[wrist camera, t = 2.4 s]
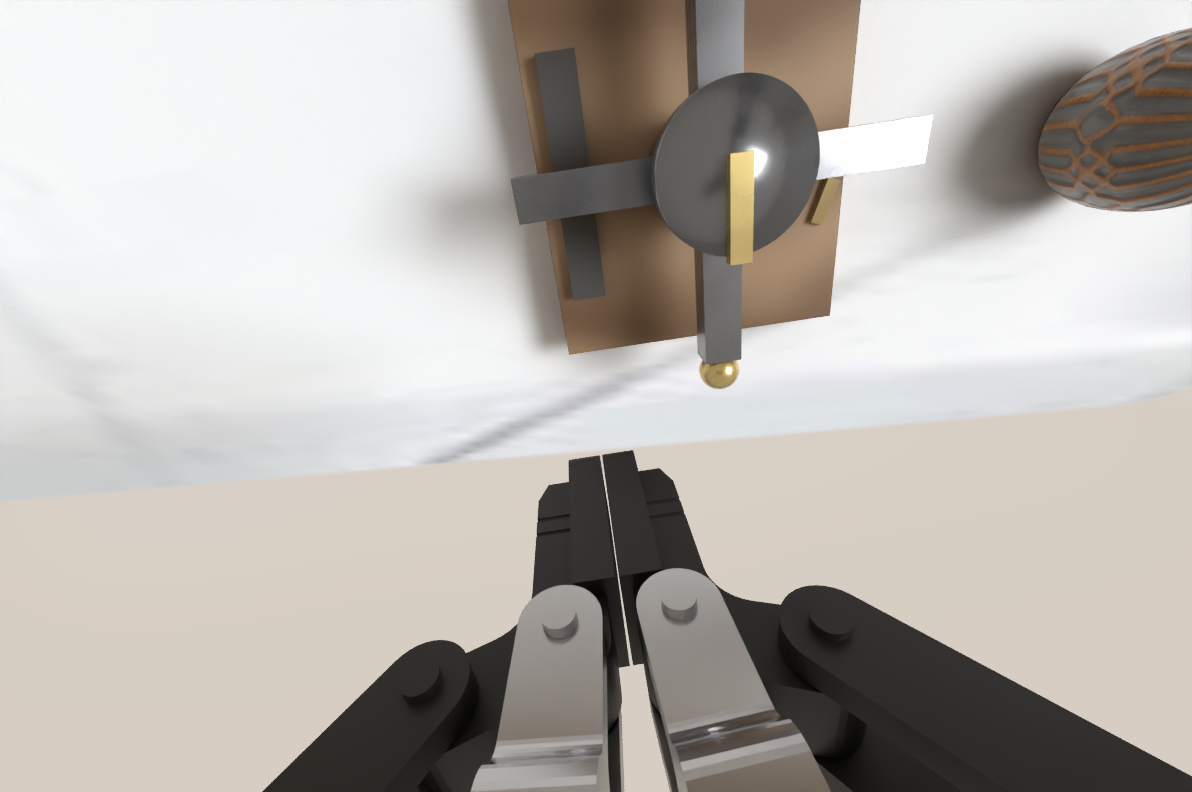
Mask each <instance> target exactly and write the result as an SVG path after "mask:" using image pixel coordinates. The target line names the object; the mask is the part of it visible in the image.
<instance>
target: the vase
mask: <svg viewBox="0 0 1192 792" xmlns="http://www.w3.org/2000/svg"><path fill="white" fill-rule="evenodd" d="M1038 162H1039V167H1040V170H1041V172H1042V174H1043V176H1044V178H1045V180H1046V182H1047V183H1048V185H1049V186H1050V187H1051V188H1052V189H1054V190H1055V191H1056V192H1057V193H1059V194H1060V195H1062V196H1063V197H1065V198H1067V199H1069V200H1071V201H1073V202H1076V203H1078V204H1081V205H1084V206H1087V207H1091V208H1097V209H1102V210H1111V211H1122V212H1142V211H1154V210H1162V209H1169V208H1174V207H1180V206H1184V205H1189V204H1192V28H1188V29H1184V30H1180V31H1176V32H1172V33H1169V34H1166V35H1162V36H1159V37H1156V38H1153V39H1150V40H1148V41H1145V42H1143V43H1141V44H1138V45H1136V46H1134V47H1131V48H1129V49H1127V50H1125V51H1123V52H1121V53H1119V54H1117V55H1115V56H1114V57H1112V58H1110V59H1108V60H1107V61H1105V62H1103V63H1102V64H1100V65H1099V66H1097V67H1096V68H1094V69H1093V70H1091V71H1090V72H1089V73H1087V74H1086V75H1085V76H1084V77H1082V78H1081V79H1080V80H1079V81H1078V82H1077V83H1076V84H1075V85H1074V86H1073V87H1072V88H1071V89H1070V90H1069V91H1068V92H1067V93H1066V94H1065V95H1064V96H1063V97H1062V98H1061V100H1060V101H1059V102H1058V103H1057V105H1056V106H1055V108H1054V109H1053V111H1052V112H1051V114H1050V116H1049V117H1048V119H1047V121H1046V123H1045V125H1044V127H1043V130H1042V133H1041V136H1040V140H1039V145H1038Z"/></svg>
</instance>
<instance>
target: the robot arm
mask: <svg viewBox="0 0 1192 792" xmlns="http://www.w3.org/2000/svg"><path fill="white" fill-rule="evenodd" d="M602 457H603V464H604V470H605V478H606V486H607V493H608V499H609V507H610V514H611V522H612V529H613V536H614V543H615V550H616V557H617V565H618V572H619V578H620V584H621V591H622V598H623V604H624V610H625V616H626V623H627V629H628V635H629V642H630V648H631V654H632V661H633V665H637V664H644V669H645V675H646V680H647V687H648V693H649V700H650V707H651V713H652V717H653V721H654V725H655V729H656V733H657V738H658V742H659V746H660V751H661V755H662V759H663V763H664V767H665V772H666V776H667V780H668V784H669V789H670V792H1192V776H1190V775H1188V774H1186V773H1184V772H1182V771H1181V770H1179V769H1177V768H1175V767H1173V766H1171V765H1169V764H1167V763H1165V762H1164V761H1162V760H1160V759H1158V758H1156V757H1154V756H1152V755H1151V754H1149V753H1147V752H1145V751H1143V750H1141V749H1139V748H1137V747H1136V746H1134V745H1132V744H1130V743H1128V742H1126V741H1124V740H1122V739H1121V738H1119V737H1117V736H1115V735H1113V734H1111V733H1109V732H1107V731H1105V730H1104V729H1101V728H1100V727H1098V726H1096V725H1094V724H1092V723H1091V722H1089V721H1087V720H1085V719H1083V718H1081V717H1079V716H1077V715H1076V714H1074V713H1072V712H1070V711H1068V710H1066V709H1064V708H1062V707H1060V706H1059V705H1057V704H1055V703H1053V702H1051V701H1049V700H1047V699H1045V698H1044V697H1042V696H1040V695H1038V694H1036V693H1034V692H1032V691H1031V690H1029V689H1027V688H1025V687H1023V686H1021V685H1019V684H1017V683H1016V682H1014V681H1012V680H1010V679H1008V678H1006V677H1004V676H1002V675H1001V674H999V673H997V672H995V671H993V670H991V669H989V668H987V667H985V666H984V665H982V664H980V663H978V662H976V661H974V660H972V659H971V658H969V657H967V656H965V655H963V654H961V653H959V652H957V651H955V650H954V649H952V648H950V647H948V646H946V645H944V644H942V643H940V642H939V641H937V640H935V639H933V638H931V637H929V636H927V635H925V634H924V633H922V632H920V631H918V630H916V629H914V628H912V627H910V626H908V625H907V624H905V623H903V622H901V621H899V620H897V619H895V618H893V617H892V616H890V615H888V614H886V613H884V612H882V611H880V610H878V609H877V608H874V607H873V606H871V605H869V604H867V603H865V602H864V601H862V600H860V599H858V598H856V597H854V596H852V595H850V594H848V593H846V592H844V591H842V590H839V589H836V588H831V587H827V586H818V585H817V586H816V585H815V586H806V587H801V588H799V589H796V590H794V591H793V592H791V593H789V594H788V595H787V597H785V599H784V601H783V602H782V604H781V605H778V604H771V603H763V602H756V601H750V600H745V599H741V598H738V597H735V596H733V595H731V594H729V593H727V592H725V591H724V590H722V589H721V588H719V587H718V586H717V585H716V584H715V583H714V582H713V581H712V580H711V579H710V578H709V576H708V575H707V573H706V571H705V569H704V567H703V564H702V562H701V559H700V556H699V553H698V550H697V547H696V545H695V541H694V539H693V536H692V533H691V530H690V527H689V525H688V522H687V519H686V516H685V515H684V511H683V507H682V505H681V502H680V500H679V496H678V493H677V490H676V488H675V485H674V482H673V480H672V479H670V478H669V477H668V476H667V475H666V474H665V473H664V472H663V471H662V470H660V469H659V468H658V469H652V470H645V471H638V468H637V465H636V461H635V456H634V453H633V450H631V451H624V452H618V453H611V454H604V455H602ZM626 666H630V665H629V658H628V650H627V643H626V635H625V628H624V620H623V613H622V606H621V599H620V591H619V584H618V576H617V569H616V561H615V554H614V546H613V540H612V532H611V525H610V518H609V511H608V505H607V499H606V492H605V487H604V480H603V474H602V467H601V461H600V456H593V457H585V458H579V459H573V460H569V482H566V483H561V484H553V485H549V486H548V488H547V489H546V491H545V492H544V494H543V496H542V497H541V499H540V500H539V508H538V523H537V538H536V551H535V565H534V580H533V593H532V599H531V600H530V601H529V603H528V604H527V605H526V606H525V608H524V609H523V611H522V613H521V615H520V617H519V621H518V624H517V625H516V626H515V627H514V628H512V629H511V630H510V631H509V632H508V633H506V634H504V635H503V636H501V637H499V638H498V639H496V640H494V641H492V642H489V643H487V644H485V645H483V646H481V647H479V648H477V649H474V650H473V651H470V652H468V653H465V651H464V650H463V649H462V648H461V647H460V646H459V645H457V644H456V643H454V642H450V641H445V640H437V641H431V642H426V643H424V644H421V645H418V646H416V647H414V648H413V649H411V650H409V651H408V652H406V653H405V654H403V655H402V656H401V657H400V658H399V659H398V660H396V661H395V662H394V663H393V664H392V665H391V666H390V667H389V668H388V669H387V670H386V671H385V672H384V673H383V674H382V675H381V676H380V677H379V678H378V679H377V680H376V681H375V682H374V683H373V684H372V685H371V686H370V687H369V688H368V689H367V690H366V691H365V692H364V693H363V694H362V695H361V696H360V697H359V698H358V699H357V700H356V701H354V702H353V704H351V705H350V706H349V707H348V709H346V710H345V711H344V712H343V713H342V714H341V715H340V716H339V717H338V718H337V719H336V720H335V721H334V722H333V723H332V724H331V725H330V726H329V727H328V728H327V729H326V730H325V731H324V732H323V733H322V734H321V735H320V736H319V737H318V738H317V739H316V740H315V741H314V742H313V743H312V744H311V745H310V746H309V747H308V748H306V749H305V750H304V751H303V752H302V754H300V755H299V756H298V757H297V758H296V759H295V760H294V761H293V762H292V763H291V764H290V765H289V766H288V767H287V768H286V769H285V770H284V771H283V772H282V773H281V774H280V775H279V776H278V777H277V778H276V779H275V780H274V781H273V782H272V783H271V784H270V785H269V786H268V787H267V788H266V789H265V790H264V791H263V792H624V771H623V770H624V769H623V743H622V716H621V703H622V694H621V685H620V676H619V667H626Z"/></svg>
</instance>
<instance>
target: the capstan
mask: <svg viewBox="0 0 1192 792" xmlns="http://www.w3.org/2000/svg"><path fill="white" fill-rule="evenodd" d="M685 16H686V43H687V70H688V97H687V98H686V99H685V100H684V101H683V102H682V103H681V104H680V105H679V106H678V107H677V108H676V110H675V111H674V112H673V113H672V115H671V116H670V117H669V119H668V121H667V122H666V124H665V125H664V127H663V129H662V131H661V132H660V134H659V135H658V136H657V138H656V140H655V141H654V143H653V145H652V148H651V150H650V153H649V157H647V158H640V159H634V160H627V161H621V162H614V163H607V164H601V165H594V166H588V167H581V168H574V169H568V170H561V171H554V172H548V173H541V174H535V175H528V176H521V177H515V178H511V183H512V188H513V193H514V198H515V203H516V208H517V213H518V218H519V223H520V224H527V223H534V222H540V221H547V220H553V219H560V218H567V217H573V216H580V215H587V214H593V213H600V212H606V211H613V210H620V209H626V208H633V207H640V206H646V205H653V204H655V205H656V207H657V210H658V212H659V214H660V216H661V218H662V220H663V221H664V223H665V224H666V226H667V227H668V228H669V230H670V231H671V232H672V233H673V234H674V235H675V236H676V237H678V238H679V239H680V240H682V241H683V242H684V243H686V244H687V245H689V246H690V247H692V248H694V261H695V289H696V316H697V343H698V354H699V355H700V357H701V358H702V362H701V364H700V369H699V371H700V376H701V378H702V380H703V382H704V383H705V384H706V385H708V386H709V387H711V388H715V389H723V388H727V387H729V386H730V385H732V384H733V383H734V382H735V381H736V379H737V377H738V374H739V365H738V362H737V360H740V359H741V322H742V264H745V263H751V262H753V252H754V251H757V250H759V249H761V248H763V247H765V246H767V245H768V244H770V243H772V242H773V241H775V240H776V239H777V238H779V237H780V236H781V235H782V234H783V233H785V232H786V230H787V229H788V228H789V227H790V226H791V225H792V224H793V223H794V222H795V220H796V219H797V218H798V217H799V215H800V214H801V212H802V211H803V209H804V207H805V206H806V204H807V202H808V200H809V198H810V196H811V193H812V191H813V188H814V185H815V182H816V180H819V179H825V178H832V177H839V176H845V175H852V174H858V173H865V172H872V171H878V170H885V169H892V168H898V167H905V166H911V165H918V164H925V159H926V153H927V148H928V142H929V136H930V130H931V124H932V118H933V115H928V116H920V117H912V118H905V119H898V120H892V121H885V122H879V123H872V124H865V125H859V126H852V127H845V128H839V129H832V130H826V131H819V132H818V130H817V126H816V123H815V120H814V118H813V115H812V113H811V111H810V109H809V107H808V105H807V104H806V102H805V101H804V100H803V98H802V97H801V96H800V95H799V94H798V93H797V92H796V91H795V90H794V89H793V88H792V87H791V86H789V85H788V84H786V83H785V82H783V81H782V80H780V79H777V78H775V77H773V76H770V75H766V74H762V73H752V72H748V73H744V0H685Z"/></svg>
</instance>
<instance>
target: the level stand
mask: <svg viewBox="0 0 1192 792" xmlns="http://www.w3.org/2000/svg"><path fill="white" fill-rule="evenodd" d="M860 3H861V0H744V73H748V72H752V73H762V74H766V75H770V76H773V77H775V78H777V79H780V80H782V81H783V82H785V83H786V84H788V85H789V86H791V87H792V88H793V89H794V90H795V91H796V92H797V93H798V94H799V95H800V96H801V97H802V98H803V100H804V101H805V102H806V104H807V105H808V107H809V109H810V111H811V113H812V115H813V118H814V120H815V123H816V126H817V130H818V132H819V131H826V130H832V129H839V128H845V127H848V124H849V114H850V104H851V94H852V84H853V74H854V64H855V54H856V44H857V33H858V23H859V13H860ZM508 4H509V10H510V16H511V22H512V27H513V33H514V39H515V45H516V50H517V56H518V62H519V68H520V74H521V79H522V85H523V91H524V97H525V102H526V108H527V114H528V120H529V125H530V131H531V137H532V143H533V149H534V154H535V160H536V166H537V172H538V174H541V173H548V172H554V171H561V170H568V169H574V168H581V167H588V166H594V165H601V164H607V163H614V162H621V161H627V160H634V159H640V158H647V157H649V153H650V150H651V148H652V145H653V143H654V141H655V140H656V138H657V136H658V135H659V134H660V132H661V131H662V129H663V127H664V125H665V124H666V122H667V121H668V119H669V117H670V116H671V115H672V113H673V112H674V111H675V110H676V108H677V107H678V106H679V105H680V104H681V103H682V102H683V101H684V100H685V99H686V98H687V97H688V70H687V43H686V16H685V0H508ZM842 185H843V176H839V177H832V178H825V179H819V180H816V182H815V185H814V188H813V191H812V193H811V196H810V198H809V200H808V202H807V204H806V206H805V207H804V209H803V211H802V212H801V214H800V215H799V217H798V218H797V219H796V220H795V222H794V223H793V224H792V225H791V226H790V227H789V228H788V229H787V230H786V232H785V233H783V234H782V235H781V236H780V237H779V238H777V239H776V240H775V241H773V242H772V243H770V244H768V245H767V246H765V247H763V248H761V249H759V250H757V251H754V252H753V262H751V263H745V264H742V322H741V329H743V328H749V327H756V326H763V325H769V324H776V323H783V322H789V321H796V320H803V319H809V318H816V317H823V316H830V307H831V296H832V286H833V276H834V266H835V256H836V246H837V236H838V226H839V215H840V205H841V195H842ZM546 224H547V229H548V235H549V241H550V247H551V253H552V258H553V264H554V270H555V276H556V281H557V287H558V293H559V299H560V305H561V310H562V316H563V322H564V328H565V333H566V339H567V345H568V351H569V354H576V353H582V352H589V351H596V350H602V349H609V348H616V347H623V346H629V345H636V344H643V343H649V342H656V341H663V340H669V339H676V338H683V337H689V336H696V335H697V316H696V289H695V261H694V248H692V247H690V246H689V245H687V244H686V243H684V242H683V241H682V240H680V239H679V238H678V237H676V236H675V235H674V234H673V233H672V232H671V231H670V230H669V228H668V227H667V226H666V224H665V223H664V221H663V220H662V218H661V216H660V214H659V212H658V210H657V207H656V205H655V204H653V205H646V206H640V207H633V208H626V209H620V210H613V211H606V212H600V213H593V214H587V215H580V216H573V217H567V218H560V219H553V220H547V221H546Z"/></svg>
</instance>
